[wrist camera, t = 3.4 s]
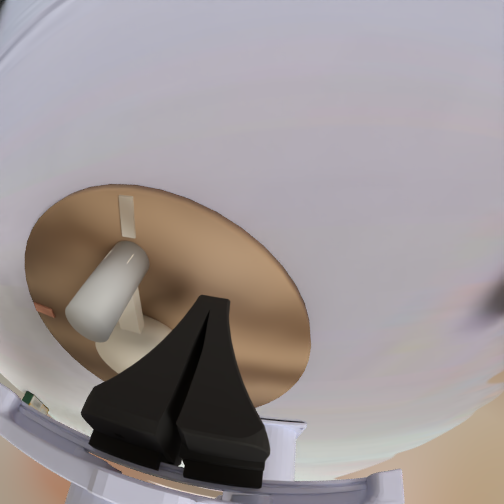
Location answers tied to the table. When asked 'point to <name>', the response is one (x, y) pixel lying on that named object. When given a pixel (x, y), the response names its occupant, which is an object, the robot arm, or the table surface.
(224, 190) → the table surface
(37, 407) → the crayon box
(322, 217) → the table surface
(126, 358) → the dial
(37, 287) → the dial plate
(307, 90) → the table surface
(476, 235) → the table surface
